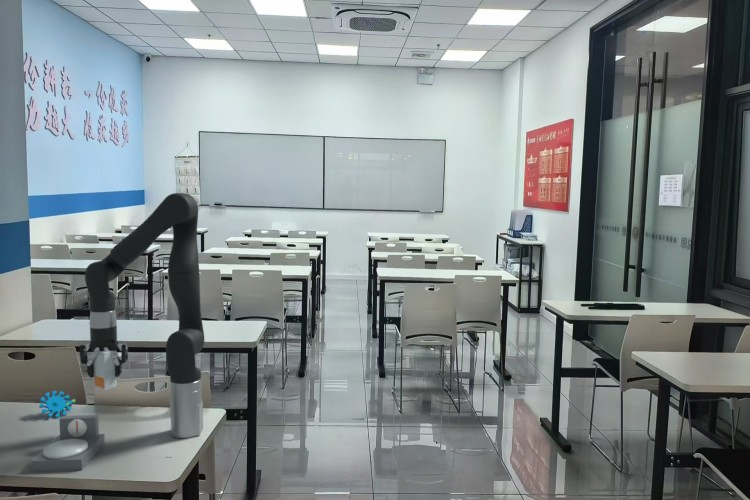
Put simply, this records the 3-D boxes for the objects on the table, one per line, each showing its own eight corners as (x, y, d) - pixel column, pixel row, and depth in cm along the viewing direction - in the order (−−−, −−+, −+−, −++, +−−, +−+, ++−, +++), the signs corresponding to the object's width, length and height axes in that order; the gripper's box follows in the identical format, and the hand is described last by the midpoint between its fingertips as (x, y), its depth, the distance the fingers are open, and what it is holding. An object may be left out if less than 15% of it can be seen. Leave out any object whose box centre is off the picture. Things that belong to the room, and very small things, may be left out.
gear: (41, 417, 187) (38, 390, 192) (36, 426, 190) (33, 399, 195) (78, 413, 195) (74, 388, 200) (72, 422, 198) (69, 397, 203)
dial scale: (104, 443, 172) (103, 414, 171) (82, 470, 155) (81, 438, 154) (59, 444, 171) (58, 415, 170) (31, 471, 154) (30, 439, 153)
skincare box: (93, 387, 179) (92, 349, 178) (106, 383, 183) (104, 346, 182) (104, 390, 176) (103, 352, 175) (117, 386, 180) (116, 349, 179)
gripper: (131, 321, 182) (132, 372, 184) (84, 322, 181) (85, 373, 182) (123, 327, 175) (124, 379, 176) (74, 327, 173) (75, 380, 175)
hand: (104, 376), depth 179 cm, fingers closed on skincare box, 7 cm apart
